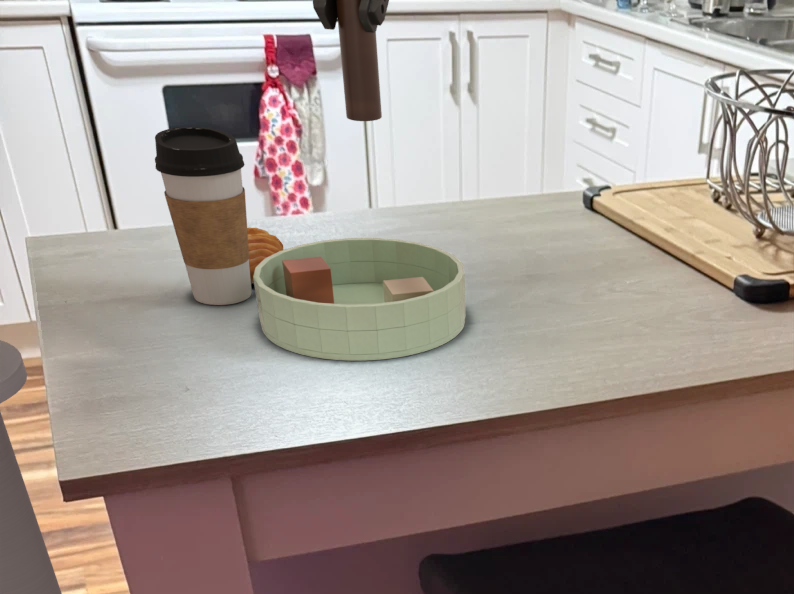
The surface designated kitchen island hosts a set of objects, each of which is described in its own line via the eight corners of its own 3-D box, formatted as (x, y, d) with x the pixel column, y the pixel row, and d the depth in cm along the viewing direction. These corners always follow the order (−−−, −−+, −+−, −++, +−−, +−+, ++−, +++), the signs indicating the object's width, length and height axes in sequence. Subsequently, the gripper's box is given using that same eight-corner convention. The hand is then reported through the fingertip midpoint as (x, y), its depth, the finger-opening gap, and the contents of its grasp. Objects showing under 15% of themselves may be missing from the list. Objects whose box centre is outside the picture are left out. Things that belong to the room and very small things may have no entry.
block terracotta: (295, 314, 104) (290, 272, 101) (287, 301, 107) (281, 260, 104) (335, 309, 105) (330, 268, 103) (325, 296, 108) (321, 256, 105)
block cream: (395, 336, 100) (392, 294, 98) (385, 322, 103) (382, 280, 100) (435, 332, 101) (433, 290, 99) (425, 318, 104) (423, 276, 101)
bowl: (285, 373, 95) (277, 317, 91) (244, 299, 109) (236, 249, 105) (493, 344, 101) (493, 291, 97) (429, 278, 115) (427, 230, 111)
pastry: (294, 286, 112) (289, 248, 109) (230, 292, 110) (224, 254, 108) (283, 258, 119) (278, 223, 116) (222, 264, 117) (216, 228, 114)
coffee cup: (235, 276, 114) (210, 121, 104) (279, 296, 109) (257, 136, 100) (166, 293, 109) (132, 133, 99) (208, 315, 105) (178, 150, 95)
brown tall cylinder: (351, 122, 88) (333, -87, 79) (342, 114, 90) (323, -90, 81) (386, 120, 89) (371, -87, 80) (376, 112, 91) (361, -90, 82)
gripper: (295, -225, 82) (244, -19, 81) (463, -221, 79) (413, -8, 78) (331, -139, 89) (285, 51, 88) (487, -133, 86) (441, 63, 86)
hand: (346, 22), depth 83 cm, fingers closed on brown tall cylinder, 3 cm apart
